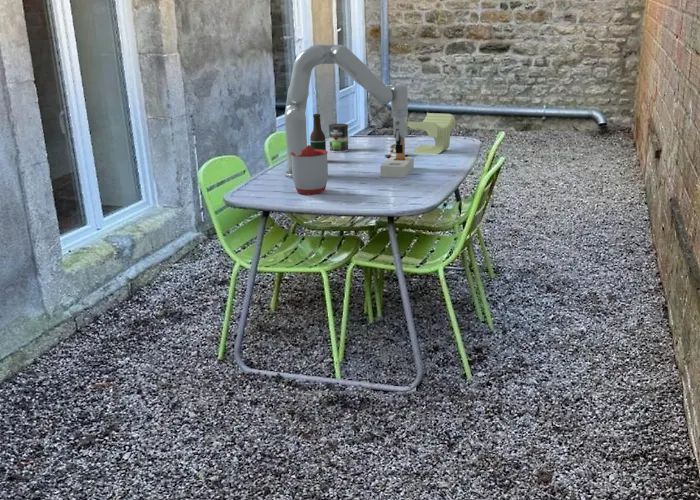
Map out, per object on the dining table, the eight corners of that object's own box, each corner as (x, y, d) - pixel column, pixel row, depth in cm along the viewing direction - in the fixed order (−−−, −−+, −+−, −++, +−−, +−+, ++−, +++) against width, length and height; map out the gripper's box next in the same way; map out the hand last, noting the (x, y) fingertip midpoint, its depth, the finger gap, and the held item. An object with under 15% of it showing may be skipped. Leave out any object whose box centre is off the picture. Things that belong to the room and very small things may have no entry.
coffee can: (345, 153, 386) (344, 126, 382) (327, 152, 389) (326, 126, 385) (351, 149, 395) (350, 123, 391) (333, 148, 398) (332, 123, 394)
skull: (409, 156, 366) (395, 142, 365) (394, 170, 370) (380, 155, 368) (410, 151, 378) (397, 137, 376) (396, 164, 381) (382, 150, 379)
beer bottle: (327, 160, 370) (325, 112, 362) (325, 163, 362) (323, 115, 355) (312, 160, 371) (310, 113, 363) (310, 163, 363) (307, 115, 356)
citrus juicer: (306, 185, 319) (304, 140, 312) (336, 190, 308) (335, 143, 302) (282, 192, 307) (279, 146, 301) (312, 198, 297) (309, 150, 290)
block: (404, 177, 326) (404, 166, 325) (380, 177, 329) (380, 166, 328) (413, 167, 346) (413, 157, 345) (391, 166, 349) (391, 156, 348)
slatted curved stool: (436, 157, 367) (437, 122, 361) (407, 155, 374) (407, 121, 368) (455, 147, 392) (455, 114, 387) (427, 145, 399) (427, 113, 393)
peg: (403, 162, 339) (403, 132, 335) (395, 162, 340) (394, 132, 336) (405, 160, 343) (405, 131, 338) (397, 160, 344) (396, 131, 339)
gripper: (403, 115, 326) (404, 155, 332) (411, 110, 341) (411, 148, 347) (387, 115, 328) (388, 155, 334) (395, 110, 343) (396, 148, 349)
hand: (400, 151), depth 340 cm, fingers closed on peg, 4 cm apart
